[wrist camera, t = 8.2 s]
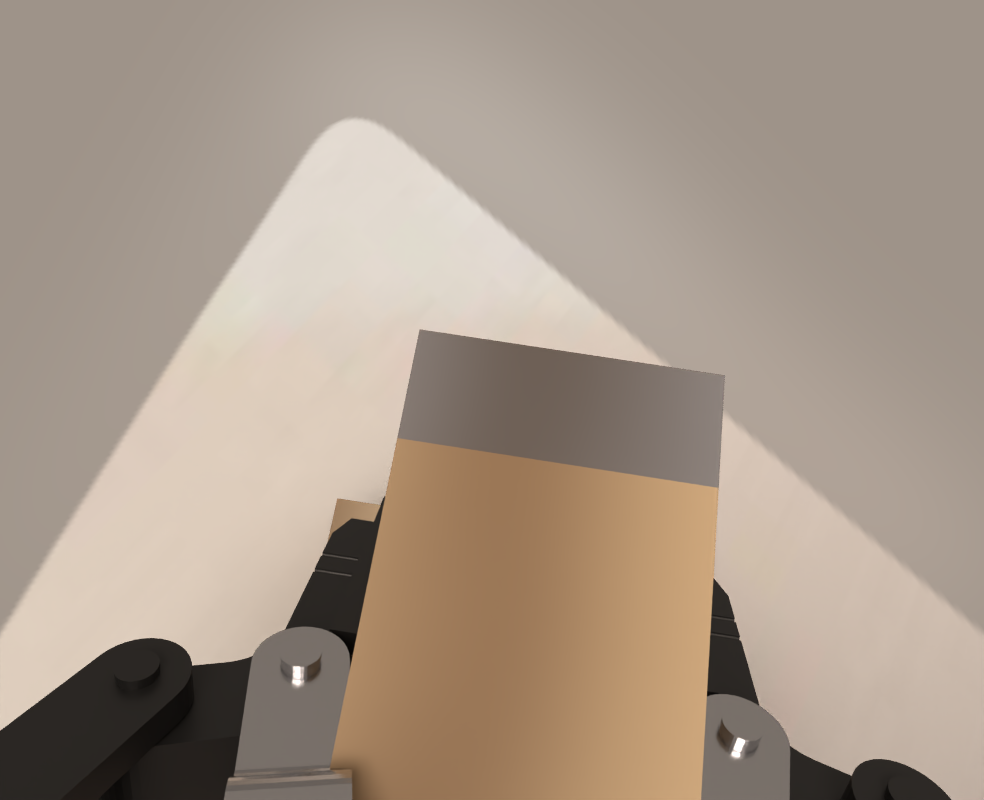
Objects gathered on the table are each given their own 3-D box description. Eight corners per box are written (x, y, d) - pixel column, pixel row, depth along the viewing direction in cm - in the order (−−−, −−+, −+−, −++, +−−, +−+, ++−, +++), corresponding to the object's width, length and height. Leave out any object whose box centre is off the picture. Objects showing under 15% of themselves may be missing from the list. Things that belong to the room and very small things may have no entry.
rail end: (609, 511, 18) (724, 375, 10) (577, 812, 16) (691, 969, 8) (445, 485, 18) (419, 329, 10) (392, 780, 16) (302, 900, 8)
